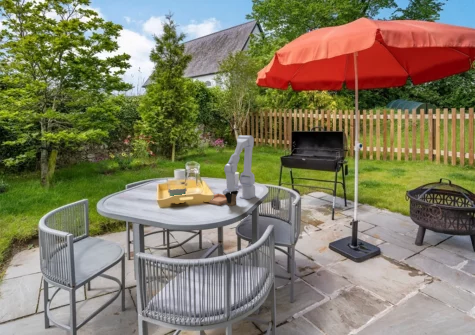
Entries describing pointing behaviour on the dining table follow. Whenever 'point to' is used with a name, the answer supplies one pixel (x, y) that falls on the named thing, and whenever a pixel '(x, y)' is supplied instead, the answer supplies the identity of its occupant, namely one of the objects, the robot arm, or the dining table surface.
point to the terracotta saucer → (218, 199)
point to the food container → (177, 192)
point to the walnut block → (232, 200)
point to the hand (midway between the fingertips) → (231, 202)
